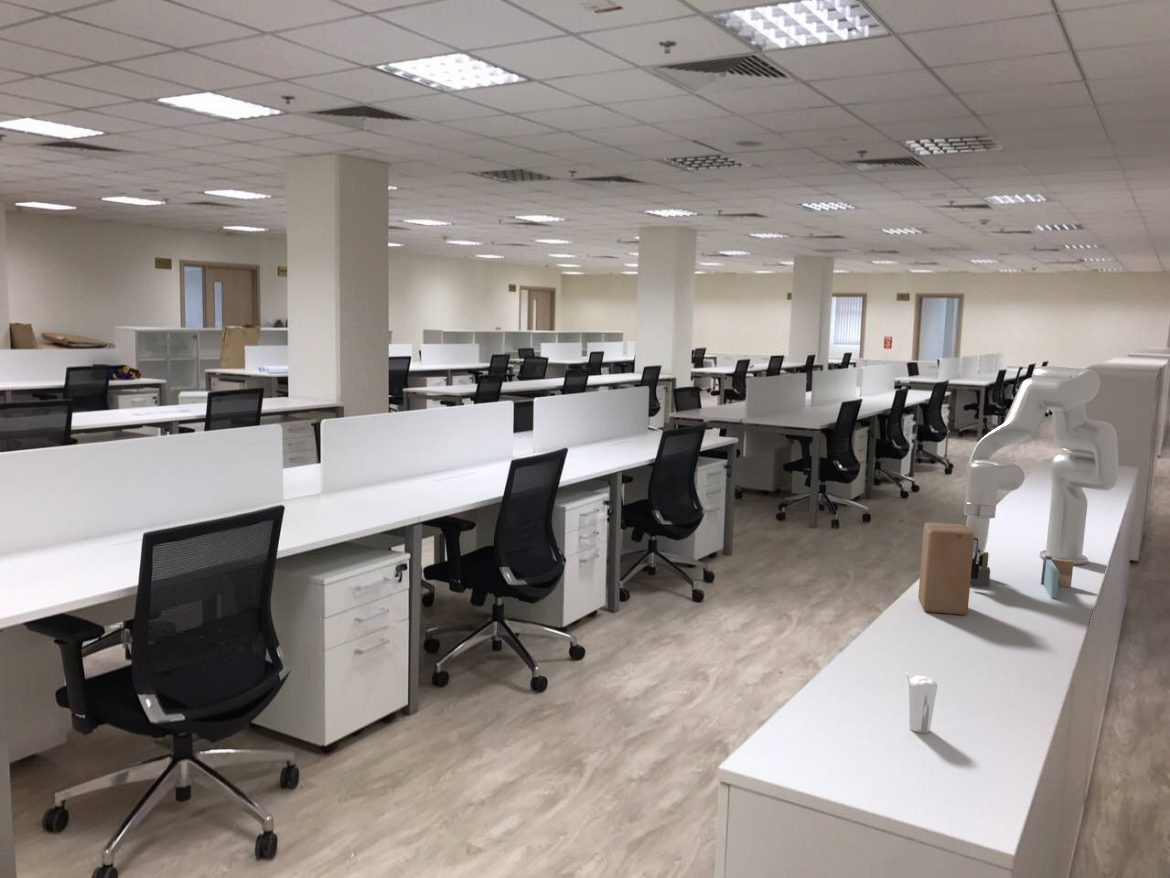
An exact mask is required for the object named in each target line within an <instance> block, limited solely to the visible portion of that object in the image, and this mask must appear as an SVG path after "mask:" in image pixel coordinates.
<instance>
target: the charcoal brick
mask: <svg viewBox="0 0 1170 878" xmlns="http://www.w3.org/2000/svg"><path fill="white" fill-rule="evenodd" d="M990 577H991V568H990V567H989V566H987V567H982V566H979V573H978V578H977V579H973V578H971V580H970V586H974V587H983V588H990Z"/></svg>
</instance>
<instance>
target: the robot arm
mask: <svg viewBox="0 0 1170 878" xmlns="http://www.w3.org/2000/svg"><path fill="white" fill-rule="evenodd" d="M1100 386H1101V379H1100V376H1099V374H1098V373H1097V372H1096V371H1095V370H1093V369H1089V368H1079V367H1068V366H1067V367H1066V366H1053V365H1052V366H1051V365H1045V366H1039V367H1036V368H1035V369H1034V370H1033V371H1032V374H1031V377H1028V378H1026V379H1024V380H1023V381H1022V382H1021V384H1020V385H1019V388H1018V389H1017V392H1016V394H1015V396H1014V399H1013V401H1012V404H1011V405H1010V408H1009V411H1008V412H1007V415H1006V417H1005V419H1004V422H1002V424H1001V425H999V426H997V427H996V428H994V429H992V430H990V431H989V432H988V433H987V434H985V435H984V436H983V437H982V438H981V439H980V440H978V442H977V443H976V445H975V446H974V449H973V450H972V453H971V455H970V457H969V459H968V462H967V465H966V469H965V476H966V479H967V481H966V490H965V501H964V510H963V511H964V512H963V515H965V516H967V518H966V525H965V526H967V527H968V528H969V530H970V531H971V532H972V533H973V535H974V545H973V557H972V568H971V578H973V579H977V578H978V573H979V566H982V563H983V556H982V555H983V553H984V552H986V551H985V550H986V548H987V542H988V537H989V530H990V523H991V522H990V520H991V519H995V518H996V511H997V504H998V503H997V502H998V495H999V493H998V492H999V491H1005V492H1013V491H1016V490H1018V489H1019V488H1021V486H1022V485H1023V483H1024V481H1025V472H1024V470H1023V468H1022V467H1021V466H1019V465H1018V464H1016V463H1013V462H1008V461H1001V460H996V459H991V458H992V456H993V455H994V454H995V453H997V452H998V451H999V450H1001V449H1003V448H1004V447H1007V446H1011V445H1014V444H1017V443H1021V442H1025V441H1029V440H1030V439H1033V438H1034V437H1036V435H1037V434H1038V431H1039V428H1040V426H1041V424H1042V422H1043V419H1044V417H1045V414H1046V413H1047V411H1049V410H1050V411H1051V412H1052V428H1053V439H1054V444H1055V445H1056V446H1057V448H1059V449H1060V450H1064V452H1060V453H1057V454H1055V456H1054V457H1052V459H1051V462H1050V465H1049V466H1050V467H1049V473H1050V480H1051V494H1050V495H1051V496H1050V507H1049V514H1048V527H1047V538H1046V547H1045V550H1042V551H1039V557H1040V558H1041V559H1042V560H1043V559H1044V556H1051V557H1052V558H1053V559H1063V560H1072V561H1073V565H1085V564H1087V563H1088V562H1089V558H1088V557H1087V556H1086V555H1083V552H1084V550H1083V549H1084V544H1085V543H1084V542H1085V541H1084V540H1085V534H1086V533H1085V530H1086V521H1087V512H1088V498H1087V495H1086V493H1085V492H1084V490H1083V488H1085V489H1091V490H1096V491H1109V490H1111V489H1113V488H1115V486H1116V484H1117V483H1118V477H1119V449H1118V446H1119V445H1118V435H1117V434H1118V433H1117V431H1116V429H1115V427H1114V426H1113V425H1112V424H1111V423H1110V422H1107V421H1104V420H1096V419H1095V420H1094V419H1090V418H1088V416H1087V409H1086V408H1087V407H1086V403H1088V402H1090V401H1092V400H1093V399H1094V398H1095V397H1096V395H1097V394H1098V392H1099V391H1100ZM1065 451H1066V452H1065Z"/></svg>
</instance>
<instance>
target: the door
mask: <svg viewBox="0 0 1170 878" xmlns="http://www.w3.org/2000/svg"><path fill="white" fill-rule="evenodd" d="M1058 584H1060V585H1063V584H1064V579H1059V571H1058V569H1057V568H1056V566H1055V565H1054V563H1053V562H1052V560H1047V559H1046V567H1045V577H1044V585H1043V586H1044V588H1045V589H1046V591H1047V593H1048V594H1049V596H1050V597H1051V598H1053V599H1054V598H1055V599H1057V598H1058V589H1059V586H1058Z"/></svg>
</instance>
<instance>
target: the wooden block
mask: <svg viewBox="0 0 1170 878" xmlns="http://www.w3.org/2000/svg"><path fill="white" fill-rule="evenodd" d="M973 545H974V535H973V533H972V532H971V531H970V530H969V528H968V527H967V526H966V525H965V524H956V523H944V522H943V523H942V522H929V521H928V522H925V524H923V533H922V545H921V546H922V547H921V557H920V572H919V583H918V584H919V585H918V601H919V603H920V604H921V607H922V609H923V611H924V612H927V613H937V614H949V615H960V616H963V615H967V613H968V611H969V602H970V600H969V599H970V589H971V585H970V580H971V568H972V557H973Z"/></svg>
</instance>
